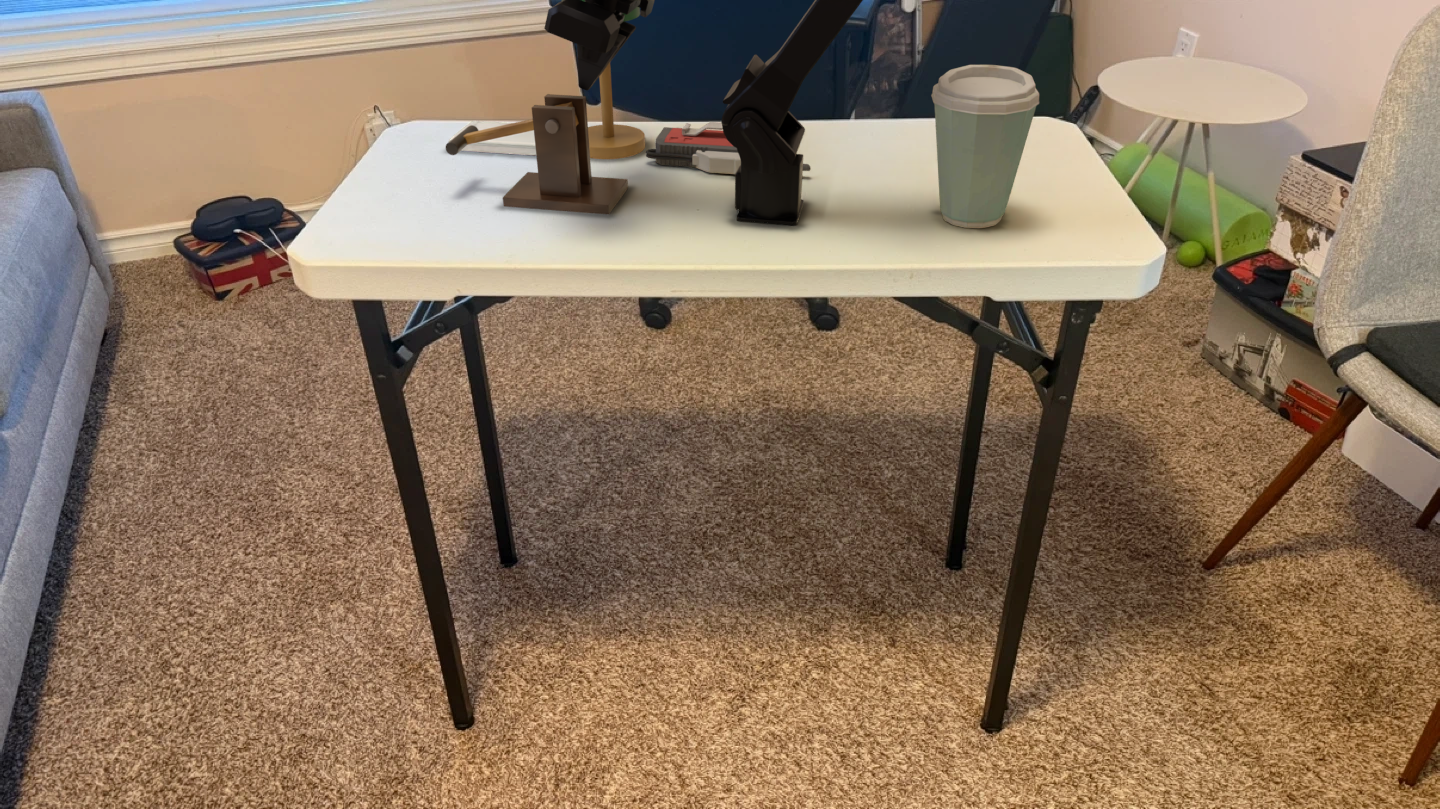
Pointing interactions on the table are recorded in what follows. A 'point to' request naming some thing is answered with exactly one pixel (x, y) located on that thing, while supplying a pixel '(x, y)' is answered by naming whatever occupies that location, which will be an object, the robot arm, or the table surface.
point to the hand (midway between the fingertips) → (584, 88)
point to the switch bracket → (564, 164)
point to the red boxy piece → (698, 149)
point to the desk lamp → (610, 136)
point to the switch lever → (491, 133)
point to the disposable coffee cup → (980, 139)
